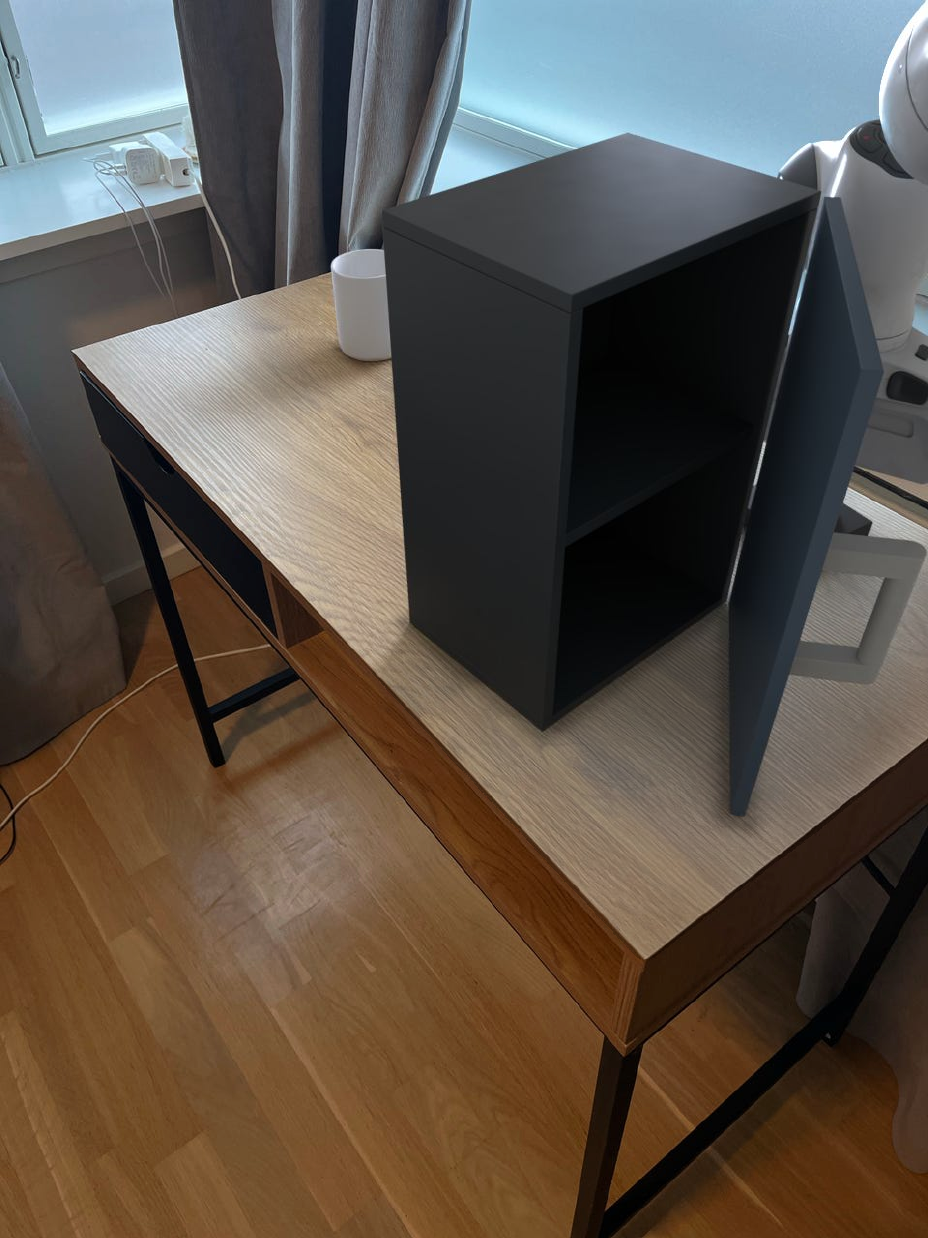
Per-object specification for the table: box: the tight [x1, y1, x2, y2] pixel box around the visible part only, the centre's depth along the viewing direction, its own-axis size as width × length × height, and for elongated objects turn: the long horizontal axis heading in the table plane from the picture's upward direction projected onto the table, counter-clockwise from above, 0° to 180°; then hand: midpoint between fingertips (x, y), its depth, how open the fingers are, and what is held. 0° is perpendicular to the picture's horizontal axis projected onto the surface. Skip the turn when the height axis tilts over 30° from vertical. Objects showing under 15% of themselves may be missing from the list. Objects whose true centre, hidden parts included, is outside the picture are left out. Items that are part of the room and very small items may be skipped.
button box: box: [743, 484, 874, 536], centre depth 89 cm, size 10×8×4 cm
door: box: [727, 196, 928, 817], centre depth 62 cm, size 7×22×34 cm, turn 169°
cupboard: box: [380, 132, 821, 732], centre depth 70 cm, size 16×22×34 cm
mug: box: [330, 248, 391, 362], centre depth 115 cm, size 12×8×10 cm
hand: (804, 489), depth 87 cm, fingers closed, pressing on button
